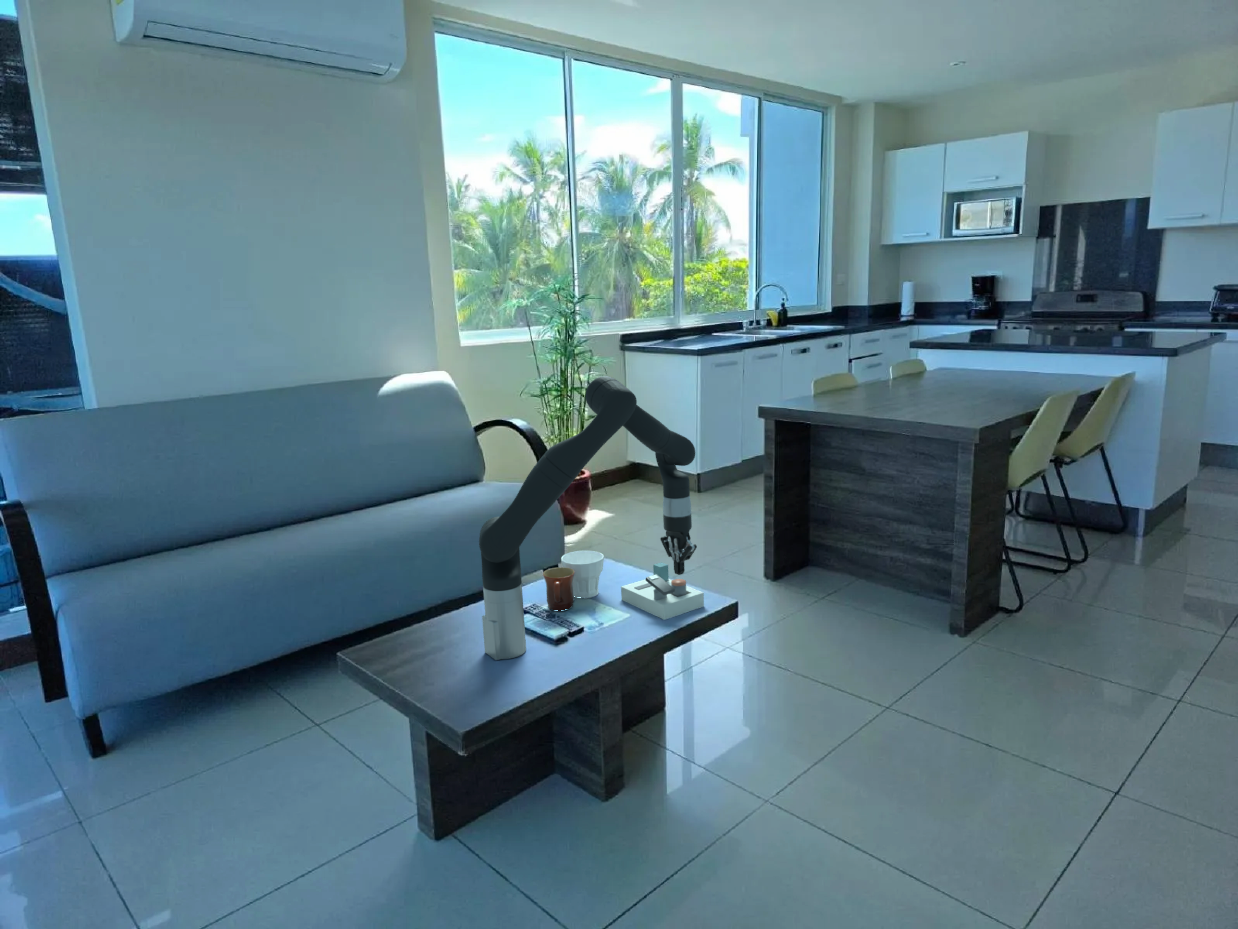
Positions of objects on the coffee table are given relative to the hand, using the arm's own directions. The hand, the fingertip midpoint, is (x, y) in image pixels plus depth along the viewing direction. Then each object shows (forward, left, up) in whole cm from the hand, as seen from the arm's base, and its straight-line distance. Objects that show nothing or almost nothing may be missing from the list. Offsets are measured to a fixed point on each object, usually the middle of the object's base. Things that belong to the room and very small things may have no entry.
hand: (679, 573), depth 215 cm
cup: (-14, +26, -10) cm, 31 cm away
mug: (-26, +20, -10) cm, 34 cm away
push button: (0, 0, -8) cm, 8 cm away
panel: (-2, +5, -10) cm, 11 cm away
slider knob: (+2, +10, -5) cm, 12 cm away
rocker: (-7, 0, -2) cm, 7 cm away
